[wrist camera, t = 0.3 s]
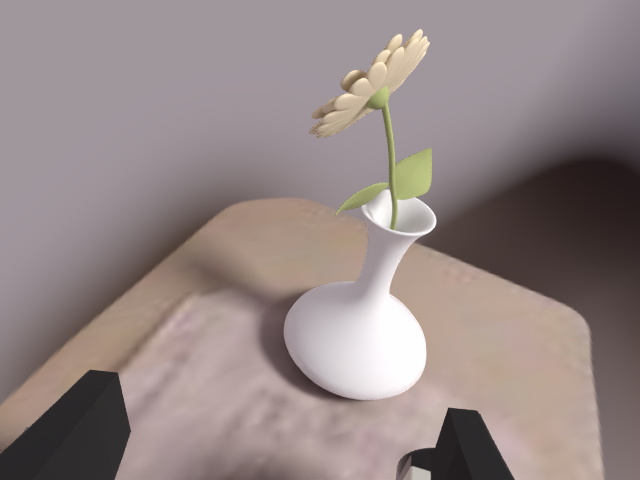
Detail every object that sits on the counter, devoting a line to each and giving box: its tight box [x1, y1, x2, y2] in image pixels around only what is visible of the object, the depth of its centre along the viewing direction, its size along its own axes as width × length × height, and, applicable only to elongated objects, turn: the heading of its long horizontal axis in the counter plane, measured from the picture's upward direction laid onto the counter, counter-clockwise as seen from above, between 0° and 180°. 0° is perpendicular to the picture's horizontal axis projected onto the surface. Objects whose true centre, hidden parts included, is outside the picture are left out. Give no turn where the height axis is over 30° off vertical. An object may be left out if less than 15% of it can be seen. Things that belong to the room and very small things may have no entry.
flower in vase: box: [284, 29, 436, 400], centre depth 32 cm, size 13×11×25 cm
